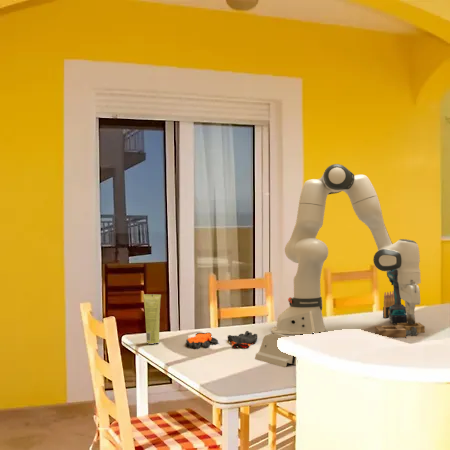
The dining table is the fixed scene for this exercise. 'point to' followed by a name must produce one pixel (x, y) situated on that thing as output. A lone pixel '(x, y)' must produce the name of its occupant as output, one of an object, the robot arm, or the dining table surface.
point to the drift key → (411, 331)
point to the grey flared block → (273, 352)
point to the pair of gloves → (206, 340)
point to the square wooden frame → (407, 326)
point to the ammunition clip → (388, 303)
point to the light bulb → (409, 315)
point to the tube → (152, 317)
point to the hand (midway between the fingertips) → (410, 313)
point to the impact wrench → (396, 301)
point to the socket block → (390, 331)
